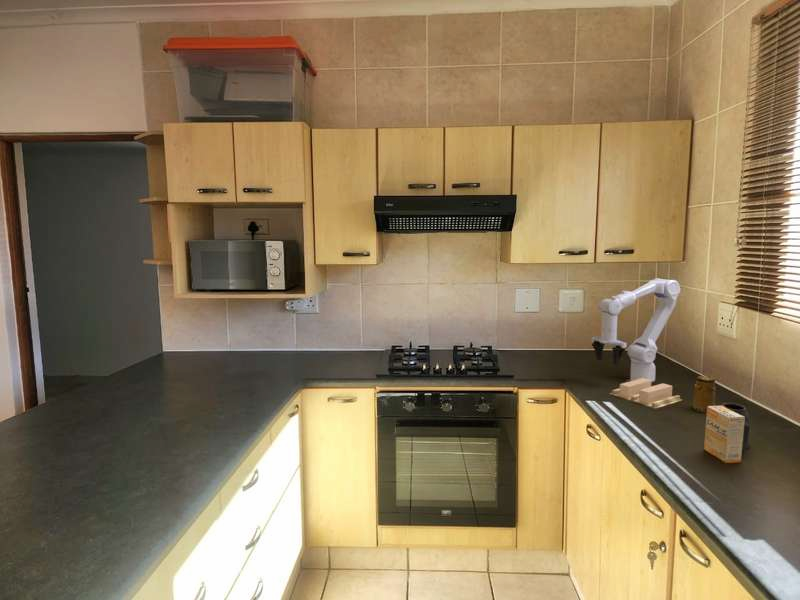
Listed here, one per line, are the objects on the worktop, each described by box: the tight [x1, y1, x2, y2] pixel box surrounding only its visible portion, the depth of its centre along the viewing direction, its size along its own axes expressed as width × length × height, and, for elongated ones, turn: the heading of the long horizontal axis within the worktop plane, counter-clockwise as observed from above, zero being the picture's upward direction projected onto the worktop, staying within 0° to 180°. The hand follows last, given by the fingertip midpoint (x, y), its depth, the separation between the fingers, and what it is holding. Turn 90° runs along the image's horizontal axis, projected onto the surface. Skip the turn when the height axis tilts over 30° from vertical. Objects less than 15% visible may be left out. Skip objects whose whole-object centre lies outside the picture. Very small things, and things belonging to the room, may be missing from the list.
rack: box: [609, 387, 682, 409], centre depth 175 cm, size 16×18×2 cm
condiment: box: [692, 375, 716, 414], centre depth 160 cm, size 7×8×12 cm
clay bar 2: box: [639, 383, 673, 405], centre depth 172 cm, size 14×4×4 cm, turn 119°
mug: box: [721, 402, 751, 451], centre depth 135 cm, size 12×9×11 cm
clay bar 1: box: [619, 378, 652, 400], centre depth 178 cm, size 14×4×4 cm, turn 120°
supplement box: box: [703, 405, 745, 464], centre depth 129 cm, size 8×5×13 cm, turn 5°
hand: (607, 362), depth 190 cm, fingers open, 7 cm apart
